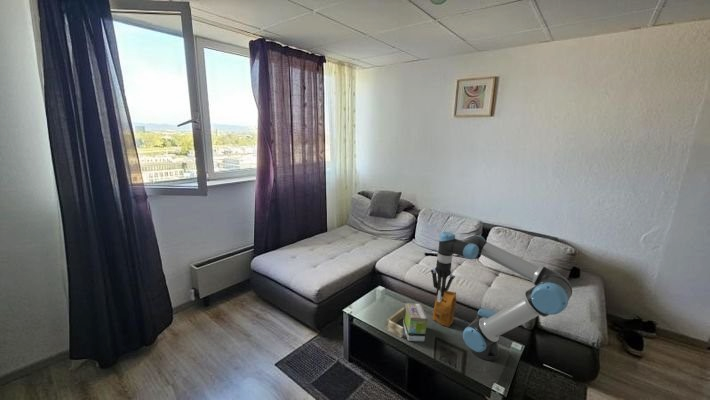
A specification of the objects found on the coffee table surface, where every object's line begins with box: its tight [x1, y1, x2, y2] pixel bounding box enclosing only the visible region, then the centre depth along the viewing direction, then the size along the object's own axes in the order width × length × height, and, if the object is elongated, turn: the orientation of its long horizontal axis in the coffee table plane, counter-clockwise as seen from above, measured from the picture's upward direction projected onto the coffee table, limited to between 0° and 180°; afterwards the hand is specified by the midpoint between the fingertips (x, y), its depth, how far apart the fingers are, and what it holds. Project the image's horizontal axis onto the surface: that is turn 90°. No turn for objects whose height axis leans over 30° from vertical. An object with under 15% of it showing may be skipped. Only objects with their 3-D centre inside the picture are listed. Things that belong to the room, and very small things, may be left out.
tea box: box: [402, 302, 428, 342], centre depth 167 cm, size 15×10×15 cm, turn 2°
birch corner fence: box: [384, 306, 405, 338], centre depth 173 cm, size 11×19×6 cm, turn 140°
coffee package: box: [432, 286, 457, 328], centre depth 179 cm, size 10×12×22 cm
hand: (439, 300), depth 158 cm, fingers closed
